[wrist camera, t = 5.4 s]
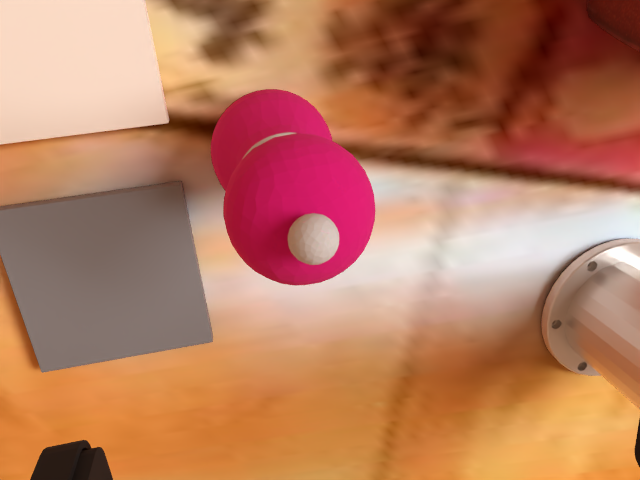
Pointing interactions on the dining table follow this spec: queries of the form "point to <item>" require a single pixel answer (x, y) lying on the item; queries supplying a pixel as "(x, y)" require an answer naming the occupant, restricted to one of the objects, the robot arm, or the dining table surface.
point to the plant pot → (618, 19)
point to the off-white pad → (76, 68)
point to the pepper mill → (290, 189)
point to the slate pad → (105, 275)
